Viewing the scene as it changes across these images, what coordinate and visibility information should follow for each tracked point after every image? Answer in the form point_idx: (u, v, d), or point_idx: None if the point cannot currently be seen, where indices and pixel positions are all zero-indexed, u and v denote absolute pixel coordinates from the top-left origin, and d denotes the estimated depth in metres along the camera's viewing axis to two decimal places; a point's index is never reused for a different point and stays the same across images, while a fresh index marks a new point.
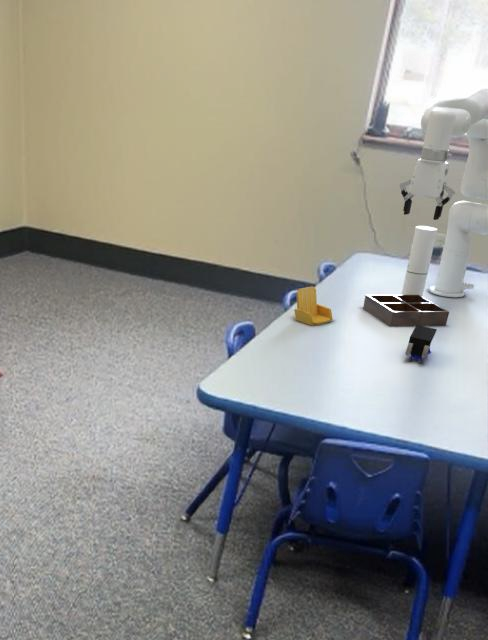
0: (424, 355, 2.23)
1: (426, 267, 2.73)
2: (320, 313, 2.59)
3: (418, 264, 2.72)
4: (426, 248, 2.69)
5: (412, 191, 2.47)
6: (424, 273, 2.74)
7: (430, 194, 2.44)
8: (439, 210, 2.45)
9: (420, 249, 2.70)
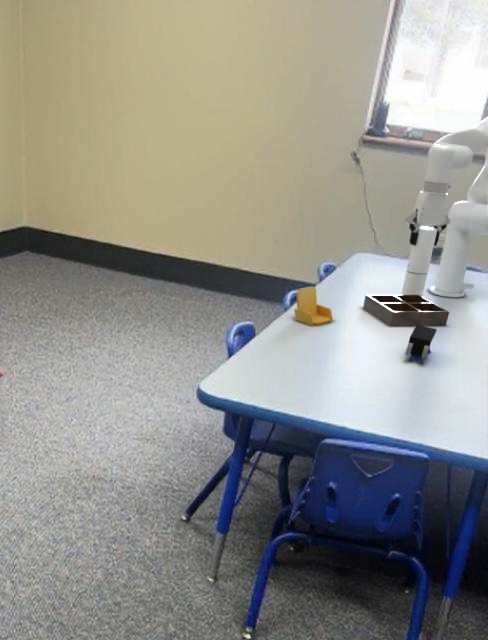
0: (424, 355, 2.23)
1: (426, 267, 2.73)
2: (320, 313, 2.59)
3: (418, 264, 2.72)
4: (426, 248, 2.69)
5: (421, 221, 2.65)
6: (424, 273, 2.74)
7: (437, 222, 2.67)
8: None
9: (420, 249, 2.70)
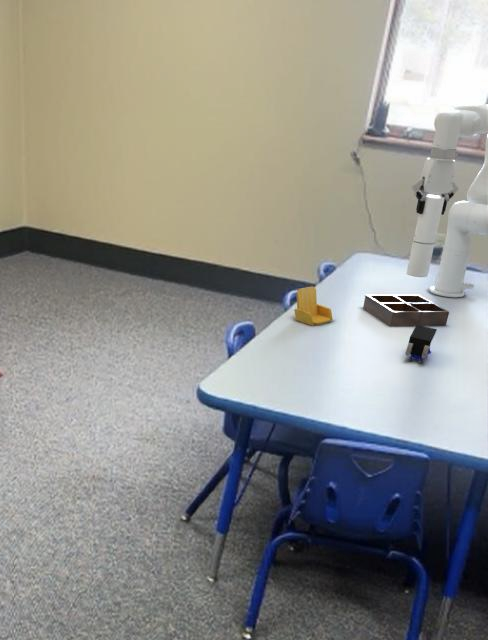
0: (424, 355, 2.23)
1: (433, 237, 2.68)
2: (320, 313, 2.59)
3: (425, 233, 2.67)
4: (433, 217, 2.64)
5: (428, 189, 2.60)
6: (431, 243, 2.69)
7: (444, 190, 2.61)
8: (445, 205, 2.66)
9: (427, 218, 2.64)
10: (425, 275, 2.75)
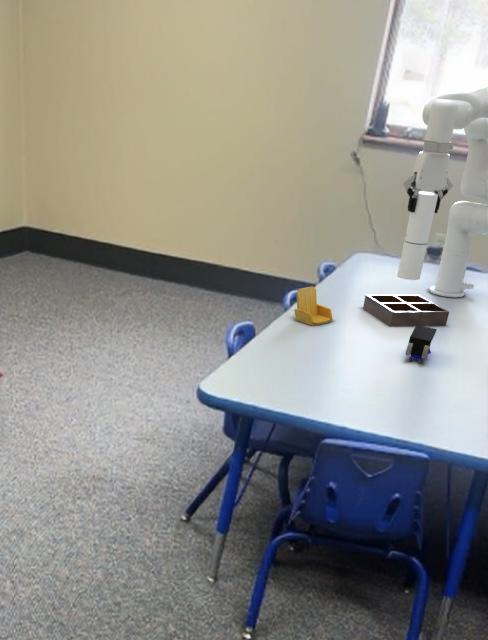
0: (424, 355, 2.23)
1: (426, 236, 2.49)
2: (320, 313, 2.59)
3: (417, 233, 2.48)
4: (426, 215, 2.45)
5: (420, 186, 2.42)
6: (424, 243, 2.50)
7: (437, 186, 2.43)
8: (439, 203, 2.47)
9: (420, 217, 2.46)
10: (417, 278, 2.56)
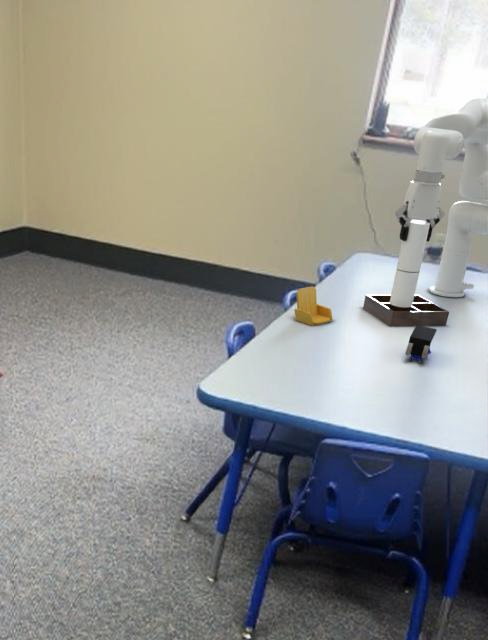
0: (424, 355, 2.23)
1: (418, 265, 2.49)
2: (320, 313, 2.59)
3: (409, 261, 2.48)
4: (418, 244, 2.46)
5: (412, 215, 2.42)
6: (416, 271, 2.50)
7: (429, 215, 2.43)
8: (431, 231, 2.47)
9: (412, 245, 2.46)
10: (409, 305, 2.56)
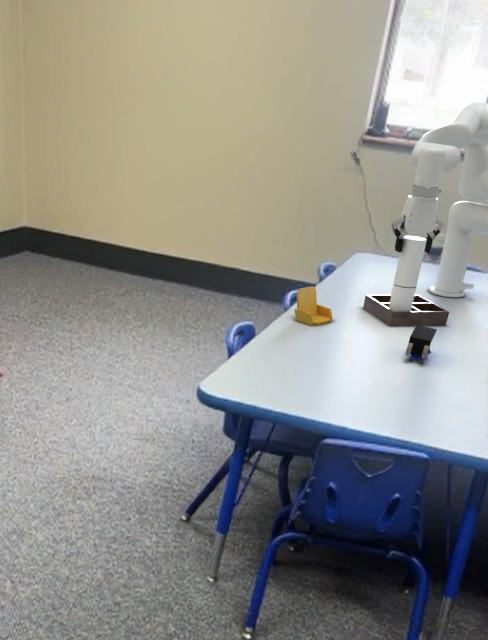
0: (424, 355, 2.23)
1: (415, 280, 2.52)
2: (320, 313, 2.59)
3: (406, 277, 2.51)
4: (414, 260, 2.48)
5: (409, 229, 2.44)
6: (412, 287, 2.53)
7: (426, 229, 2.45)
8: None
9: (408, 261, 2.49)
10: None
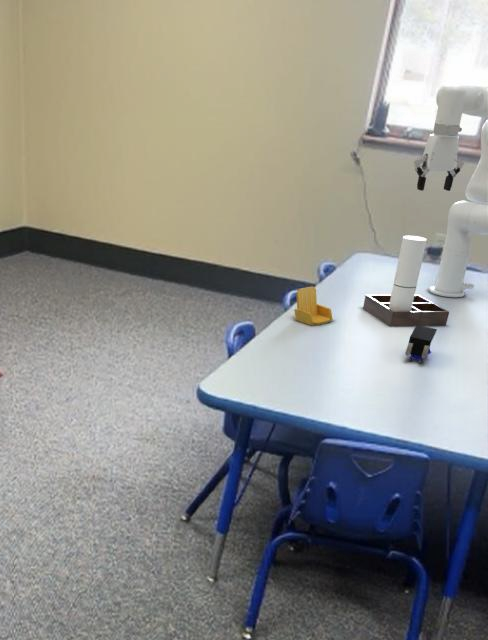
0: (424, 355, 2.23)
1: (415, 280, 2.52)
2: (320, 313, 2.59)
3: (406, 277, 2.51)
4: (414, 260, 2.48)
5: (431, 167, 2.54)
6: (412, 287, 2.53)
7: (447, 167, 2.55)
8: (451, 181, 2.60)
9: (408, 261, 2.49)
10: None
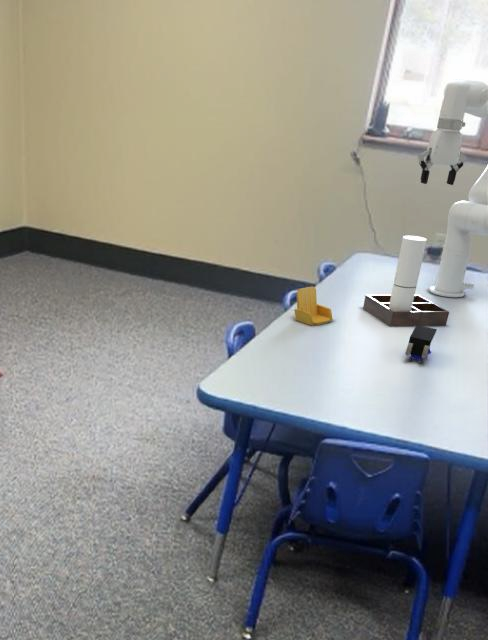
0: (424, 355, 2.23)
1: (415, 280, 2.52)
2: (320, 313, 2.59)
3: (406, 277, 2.51)
4: (414, 260, 2.48)
5: (435, 161, 2.59)
6: (412, 287, 2.53)
7: (451, 161, 2.60)
8: (454, 175, 2.64)
9: (408, 261, 2.49)
10: None
